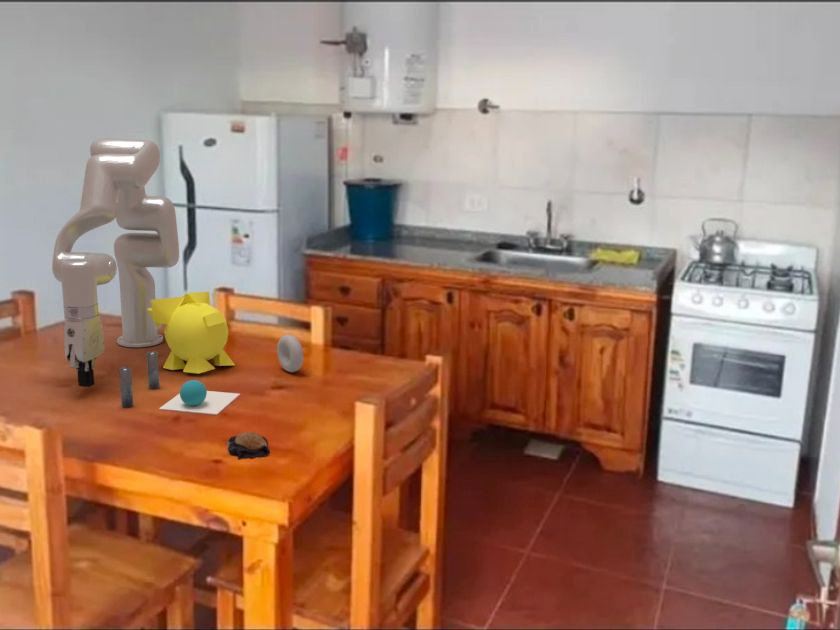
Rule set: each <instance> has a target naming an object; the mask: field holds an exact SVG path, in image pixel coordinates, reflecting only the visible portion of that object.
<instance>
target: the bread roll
mask: <svg viewBox="0 0 840 630" xmlns="http://www.w3.org/2000/svg"><path fill="white" fill-rule="evenodd" d="M226 445H227V450H228V452H229V454H230V455H231V456H233V457H237V460H246V459H249V460H250V459H261V458H265V457H267V456H268V455H270V453H271V451H270V450H271V449H270V448H269V447H268V446H269V442H268V439H267V438H266V437H264V436H262V435H261V434H259V433H258V432H256V431H246V432H242V433H239V434H238V435H234V436H231V437H230V438H229V439H228V440H226Z"/></svg>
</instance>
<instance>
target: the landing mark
mask: <svg viewBox="0 0 840 630" xmlns="http://www.w3.org/2000/svg"><path fill="white" fill-rule="evenodd" d="M206 391H207V395H206V398H205V400H204V401H203V402H202V403H201V404H199V405H197V406H189V405H187V404H185V403H184V402H183V401H182V400H181V397H180V392H179V393H177V394H176V395H175V396H174V397H173V398H172V399H169V401H167V402H166V403H165V404H163V405H162V406H160V407H159V408H158V410H161V411H163V410H164V411H170V412H171V411H172V412H183V413H192V414H193V413H194V414H202V415H203V414H205V415H214V416H215V415H216V416H217V415H218V414H220V413H221V412H222V411H223V410H224V409H226V408H227V407H228V406H229V405H230V404H231V403H232V402H233V401H235V400H236V399H237V398H238V397H239V396H240V395H241V393H236V392H226V391H225V392H223V391H212V390H211V391H210V390H206Z"/></svg>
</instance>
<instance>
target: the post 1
mask: <svg viewBox="0 0 840 630" xmlns="http://www.w3.org/2000/svg"><path fill="white" fill-rule="evenodd" d="M118 370H119V386H120V402H121V403H120V405H121V406H120V407H122V408H125V409H127V408H132V407H133V406H134V393H133V392H134V391H133V373H132V366H122V367H119V369H118Z"/></svg>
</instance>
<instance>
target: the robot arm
mask: <svg viewBox="0 0 840 630" xmlns="http://www.w3.org/2000/svg"><path fill="white" fill-rule="evenodd" d="M89 147H90V149H89V151H90V158H89V159H88V160H87V162H86V165H85V170H84V171H85V173H84V178H83V179H84V180H83V187H82V191H81V193H82V194H81V199H80V200H81V201H80V206H79V210H78V211H77V213H76V214H74V215H73V216H72V217H71V218H70V219H69V220H68V221H66V223H65V224H64V226H63V227H61V229H60V231H59V232H58V235H57V236H56V239H55V244H54V250H53V255H52V262H51V263H52V266H51V267H52V268H51V269H52V275H53V276H54V277H53V278H55V279H56V280H57V281H58V282H59V283H61V287H62V288H61V289H62V290H61V292H62V302H63V303H62V304H63V317H64V334H63V335H64V338H63V339H64V340H63V342H64V353H65V354H64V355H65V359H66V360H67V362H69V367H70V368H72V369H75V371H77V382H78V384H77V385H78V386H79V387H85V388H91V387H92V386H94V385H95V372H94V369H95V363H96V361H95V360H96V359H97V357H98V356H100V355H102V354H103V353H104V352H105V349H106V348H105V337H104V329H103V325H102V324H103V323H102V320H101V317H100V314H99V303H98V289H97V288H98V286H102V285H106V284H109V283H110V282H112V281H113V279H114V278H115V276H116V274H117V272H118V278H119V281H118V282H119V294H120V311H121V313H120V314H121V327H122V328H121V330H122V335H120V336H119V337H118V338H117V340H116V342H117V344H118V345H119V346H121V347H126V348H147V347H152V346H157V345H159V344H161V343H162V342H163V341H164V336H163V335H162V334H160V333H158V330H159V329H160V328H162V326H163V325H161V326H159V327H157V326H156V324H155V323H154V321H153V319H152V318H151V316H150V314H149V312H148V311H147V309H149V308H152V305H151V300H154V299H157V298H156V296H157V295H156V283H155V279H154V276H153V275H152V274H151V272H150V270H149V269H148V268H173V267H174V266H176V265H177V263H178V262H179V258H180V244H179V243H180V242H179V236H178V235H179V234H178V233H179V232H178V223H177V214H176V213H177V212H176V209H175V205H174V203H173V201H172V200H170V199H169V198H168V197H165V196H161V195H159V196H158V195H157V196H156V195H154V196H153V195H152V196H151V195H147V194H146V190H145V186H146V185H147V184H148V183H149V181H150V180H151V178H152V177H153V175H154V174H155V173H156V172H157V170H158V168H159V165H160V161H161V152H160V151H161V150H160V148H159V146H158V145H157V143H156V142H155V141H153V140H150V139H135V138H134V139H132V138H131V139H129V138H98V139H96V140H93V141H92V142H91V144H90V146H89ZM114 220H115V221H116V223H117V225H118V227H120V228H121V229H123V230H128V231H142V232H126V233H123V234H120V235H119V236H117V238H115V241H114V243H113V253H114V257H115V258H114V257H113V256H111V255H110V254H107V253H103V252H79V251H77V252H75V251H72V250H73V247H74V244H75V243H76V242H77V241H78V239H80V238H81V237H82V236H83V235H85V234H87V233H89V232H90V231H92V230H95V229H97V228H100V227H102V226H104V225H106V224H110V223H112V221H114ZM143 231H146V232H143ZM147 231H149V232H156V233H149V232H147Z"/></svg>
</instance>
